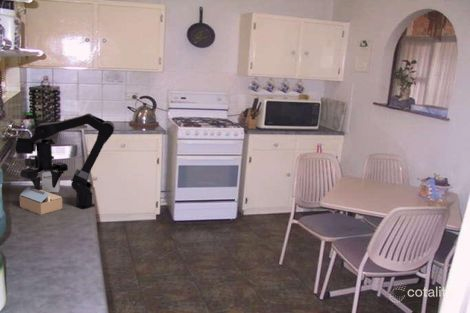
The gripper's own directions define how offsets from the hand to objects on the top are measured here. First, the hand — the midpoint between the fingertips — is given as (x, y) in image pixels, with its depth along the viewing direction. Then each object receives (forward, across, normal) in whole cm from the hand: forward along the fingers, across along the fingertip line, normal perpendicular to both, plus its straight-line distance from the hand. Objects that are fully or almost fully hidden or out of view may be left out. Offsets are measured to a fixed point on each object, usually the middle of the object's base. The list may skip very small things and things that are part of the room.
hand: (45, 189), depth 186 cm
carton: (+7, +4, +2) cm, 8 cm away
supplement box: (+8, -14, -17) cm, 23 cm away
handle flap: (0, +6, +2) cm, 6 cm away
